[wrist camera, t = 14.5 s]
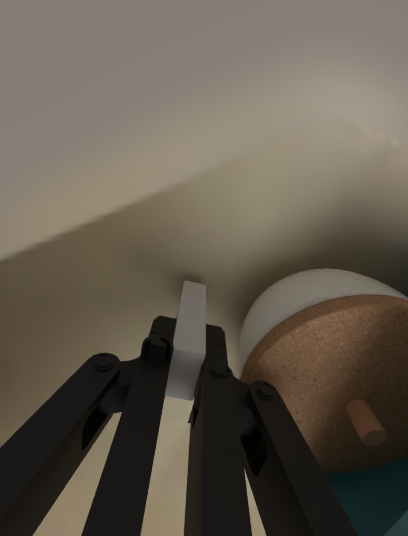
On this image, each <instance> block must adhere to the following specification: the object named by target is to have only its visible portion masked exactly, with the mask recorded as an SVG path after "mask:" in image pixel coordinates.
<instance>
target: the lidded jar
mask: <svg viewBox="0 0 408 536" xmlns="http://www.w3.org/2000/svg"><path fill="white" fill-rule="evenodd" d="M237 367H238V379H239V380H240V381H242V382H244V383H247V384H249V385H250V384H251V383H252V382H253V381H256V380H262V381H265V382H268V383H270V384H271V385H272V386H274V387H275V388H276V389H277V391H278V392H279V394H280V396H281V397H282V399H283V401H284V403H285V405H286V406H287V408H288V410H289V412H290V414H291V415H292V417H293V419H294V421H295V422H296V424H297V426H298V428H299V430H300V431H301V433H302V435H303V437H304V439H305V440H306V442H307V444H308V446H309V448H310V449H311V451H312V453H313V455H314V457H315V458H316V460H317V462H318V464H319V466H320V467H321V469H322V471H323V473H349V472H357V471H363V470H369V469H373V468H377V467H381V466H385V465H387V464H390V463H393V462H396V461H399V460H401V459H403V458H405V457H407V456H408V297H406V296H405V295H403V294H401V293H400V292H398V291H396V290H395V289H393V288H391V287H390V286H388V285H386V284H384V283H382V282H379V281H377V280H375V279H372V278H370V277H367V276H364V275H361V274H358V273H355V272H351V271H346V270H341V269H311V270H306V271H302V272H298V273H295V274H292V275H290V276H287V277H285V278H283V279H281V280H279V281H278V282H276V283H274V284H273V285H272V286H270V287H269V288H268V289H266V290H265V291H264V292H263V293H262V294H261V295H260V296H259V297H258V298H257V299H256V301H255V302H254V303H253V305H252V306H251V308H250V310H249V312H248V314H247V316H246V318H245V319H244V321H243V325H242V328H241V331H240V336H239V342H238V351H237Z"/></svg>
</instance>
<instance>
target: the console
mask: <svg viewBox="0 0 408 536" xmlns="http://www.w3.org/2000/svg"><path fill="white" fill-rule="evenodd" d="M406 297H408V294H407V296H406ZM324 474H325V476H326V478H327V480H328V482H329V483H330V485H331V487H332V489H333V491H334V492H335V494H336V496H337V498H338V500H339V501H340V503H341V505H342V507H343V509H344V510H345V512H346V514H347V516H348V518H349V519H350V521H351V523H352V525H353V526H354V528H355V530H356V532H357V534H358V535H359V536H408V456H407V457H405V458H403V459H401V460H399V461H396V462H393V463H390V464H387V465H385V466H381V467H377V468H373V469H369V470H363V471H357V472H349V473H324Z"/></svg>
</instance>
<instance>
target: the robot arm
mask: <svg viewBox="0 0 408 536" xmlns="http://www.w3.org/2000/svg"><path fill="white" fill-rule="evenodd" d="M165 396H169V397H175V398H180V399H186V400H193V397H194V404H193V407H192V411H191V414H190V418H189V421H188V423H191V426H190V442H189V459H188V475H187V491H186V508H185V524H184V536H252V531H251V523H250V514H249V506H248V497H247V489H246V480H245V472H244V468H245V471H246V474H247V477H248V480H249V484H250V487H251V490H252V493H253V496H254V499H255V502H256V505H257V508H258V511H259V514H260V517H261V520H262V523H263V526H264V529H265V532H266V535H267V536H359V535H358V534H357V532H356V530H355V528H354V526H353V525H352V523H351V521H350V519H349V518H348V516H347V514H346V512H345V510H344V509H343V507H342V505H341V503H340V501H339V500H338V498H337V496H336V494H335V492H334V491H333V489H332V487H331V485H330V483H329V482H328V480H327V478H326V476H325V474H324V473H323V471H322V469H321V467H320V466H319V464H318V462H317V460H316V458H315V457H314V455H313V453H312V451H311V449H310V448H309V446H308V444H307V442H306V440H305V439H304V437H303V435H302V433H301V431H300V430H299V428H298V426H297V424H296V422H295V421H294V419H293V417H292V415H291V414H290V412H289V410H288V408H287V406H286V405H285V403H284V401H283V399H282V397H281V396H280V394H279V392H278V391H277V389H276V388H275V387H274V386H272V385H271V384H270V383H268V382H265V381H262V380H256V381H253V382H252V383H251V384H250V385H249V384H247V383H244V382H242V381H240V380H239V379H237V378H236V377H234V376H233V373H232V370H231V369H230V368H229V366H228V360H227V350H226V341H225V333H224V331H223V330H222V328H221V327H218V326H213V325H208V324H206V285H205V284H200V283H195V282H190V281H185V280H184V285H183V289H182V294H181V298H180V303H179V307H178V312H177V317H176V319H174V318H169V317H164V316H158V317H157V318H156V319H154V321H153V324H152V327H151V330H150V333H149V336H148V337H147V338H145V340H144V341H143V344H142V350H141V356H140V357H138V358H136V359H134V360H130V361H120V360H119V359H118V357H117V356H115V355H113V354H110V353H99V354H96V355H93V356H92V357H91V358H89V359H88V360H87V361H86V362H85V363H84V364H83V365H82V366H81V367H80V368H79V369H78V370H77V371H76V372H75V373H74V374H73V375H72V376H71V377H70V378H69V379H68V380H67V381H66V382H65V383H64V384H63V385H62V386H61V387H60V388H59V389H58V390H57V391H56V392H55V393H54V394H53V395H52V396H51V397H50V398H49V399H48V400H47V401H46V402H45V403H44V404H43V405H42V406H41V407H40V408H39V409H38V410H37V411H36V412H35V413H34V414H33V415H32V416H31V417H30V418H29V419H28V420H27V421H26V422H25V423H24V424H23V425H22V426H21V427H20V428H19V429H18V430H17V431H16V432H15V433H14V434H13V436H12V437H11V438H10V439H9V440H8V441H7V442H6V443H5V444H4V445H3V446H2V447H1V448H0V536H32V535H33V534H34V532H35V531H36V529H37V528H38V526H39V525H40V523H41V522H42V520H43V519H44V517H45V516H46V515H47V513H48V512H49V510H50V509H51V507H52V506H53V504H54V503H55V501H56V500H57V498H58V497H59V495H60V494H61V492H62V491H63V489H64V488H65V486H66V485H67V483H68V482H69V480H70V479H71V477H72V476H73V474H74V473H75V471H76V470H77V468H78V467H79V465H80V464H81V462H82V461H83V459H84V458H85V456H86V455H87V453H88V452H89V450H90V449H91V447H92V446H93V444H94V443H95V441H96V440H97V438H98V437H99V435H100V434H101V432H102V431H103V429H104V428H105V426H106V425H107V423H108V422H109V420H110V419H111V417H112V415H113V413H119V412H122V414H121V417H120V420H119V423H118V426H117V429H116V432H115V435H114V438H113V441H112V444H111V447H110V451H109V454H108V457H107V460H106V463H105V466H104V469H103V472H102V475H101V478H100V481H99V484H98V487H97V490H96V493H95V496H94V499H93V502H92V505H91V508H90V511H89V514H88V517H87V520H86V523H85V526H84V529H83V532H82V535H81V536H140V534H141V529H142V523H143V517H144V511H145V506H146V500H147V494H148V489H149V483H150V477H151V472H152V466H153V460H154V455H155V449H156V443H157V437H158V432H159V426H160V420H161V415H162V409H163V403H164V398H165Z"/></svg>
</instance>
